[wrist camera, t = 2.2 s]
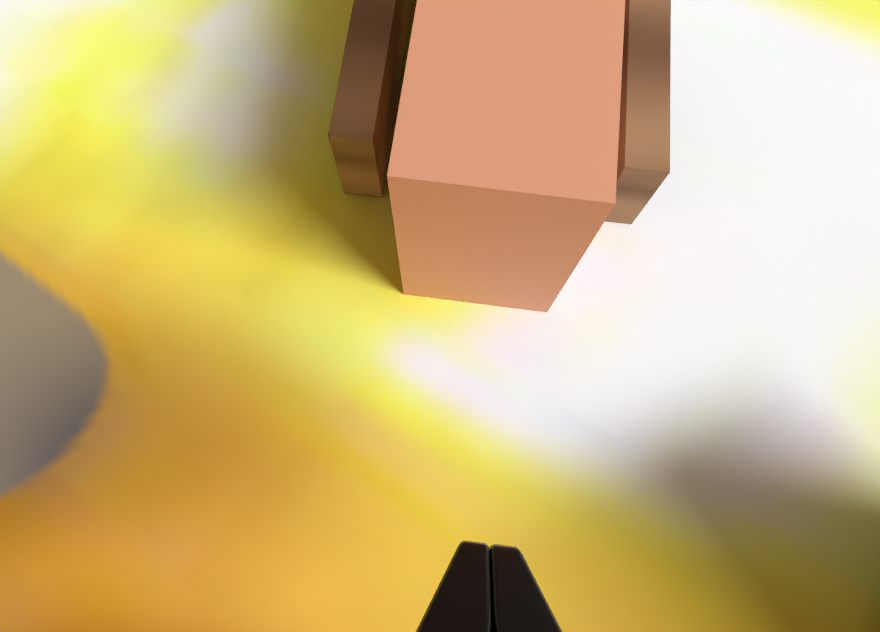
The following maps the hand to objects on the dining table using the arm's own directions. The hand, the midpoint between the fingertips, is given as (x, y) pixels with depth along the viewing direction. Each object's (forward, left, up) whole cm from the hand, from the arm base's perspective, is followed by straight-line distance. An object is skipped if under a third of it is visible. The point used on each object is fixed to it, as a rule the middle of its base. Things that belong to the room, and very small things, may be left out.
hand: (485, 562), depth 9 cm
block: (+10, +12, -13) cm, 20 cm away
